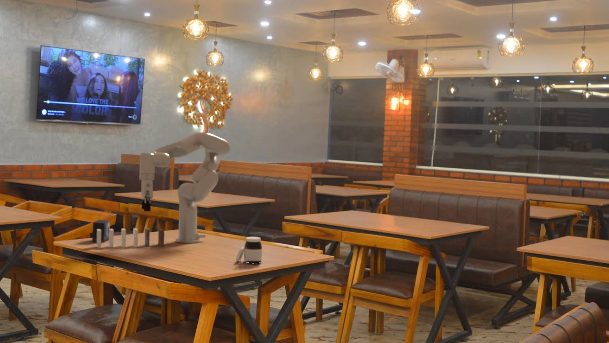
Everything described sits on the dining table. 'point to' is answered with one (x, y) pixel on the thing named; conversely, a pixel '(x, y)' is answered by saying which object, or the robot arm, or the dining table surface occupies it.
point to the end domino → (147, 237)
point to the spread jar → (251, 250)
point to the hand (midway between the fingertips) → (146, 210)
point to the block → (161, 237)
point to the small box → (104, 228)
